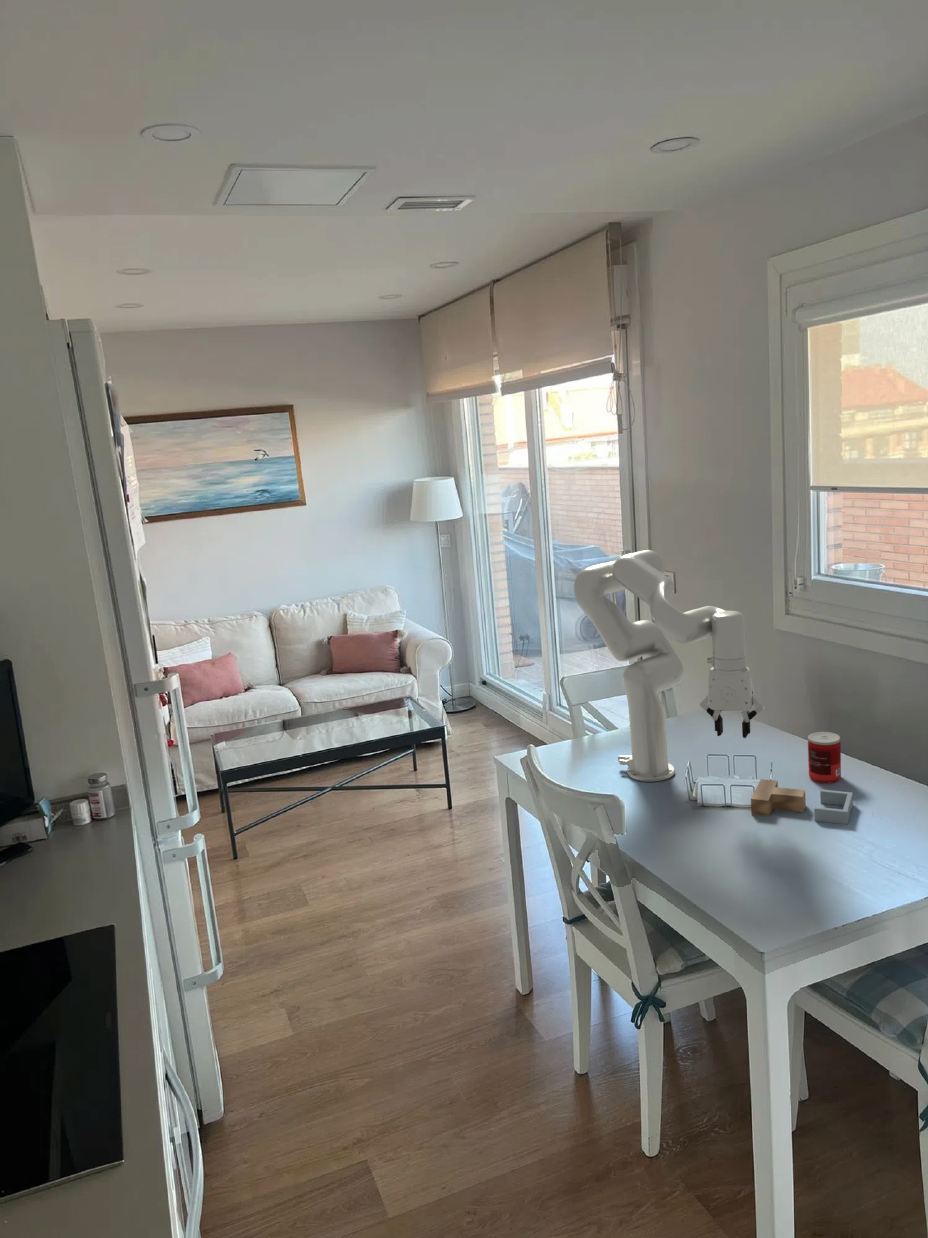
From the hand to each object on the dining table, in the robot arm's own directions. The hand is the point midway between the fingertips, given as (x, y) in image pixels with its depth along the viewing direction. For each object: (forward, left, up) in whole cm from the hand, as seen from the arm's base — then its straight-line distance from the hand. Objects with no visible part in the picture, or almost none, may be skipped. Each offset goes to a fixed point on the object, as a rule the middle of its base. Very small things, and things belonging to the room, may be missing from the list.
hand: (732, 734), depth 216 cm
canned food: (+18, +20, -18) cm, 32 cm away
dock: (+23, 0, -17) cm, 28 cm away
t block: (+11, 0, -17) cm, 21 cm away
